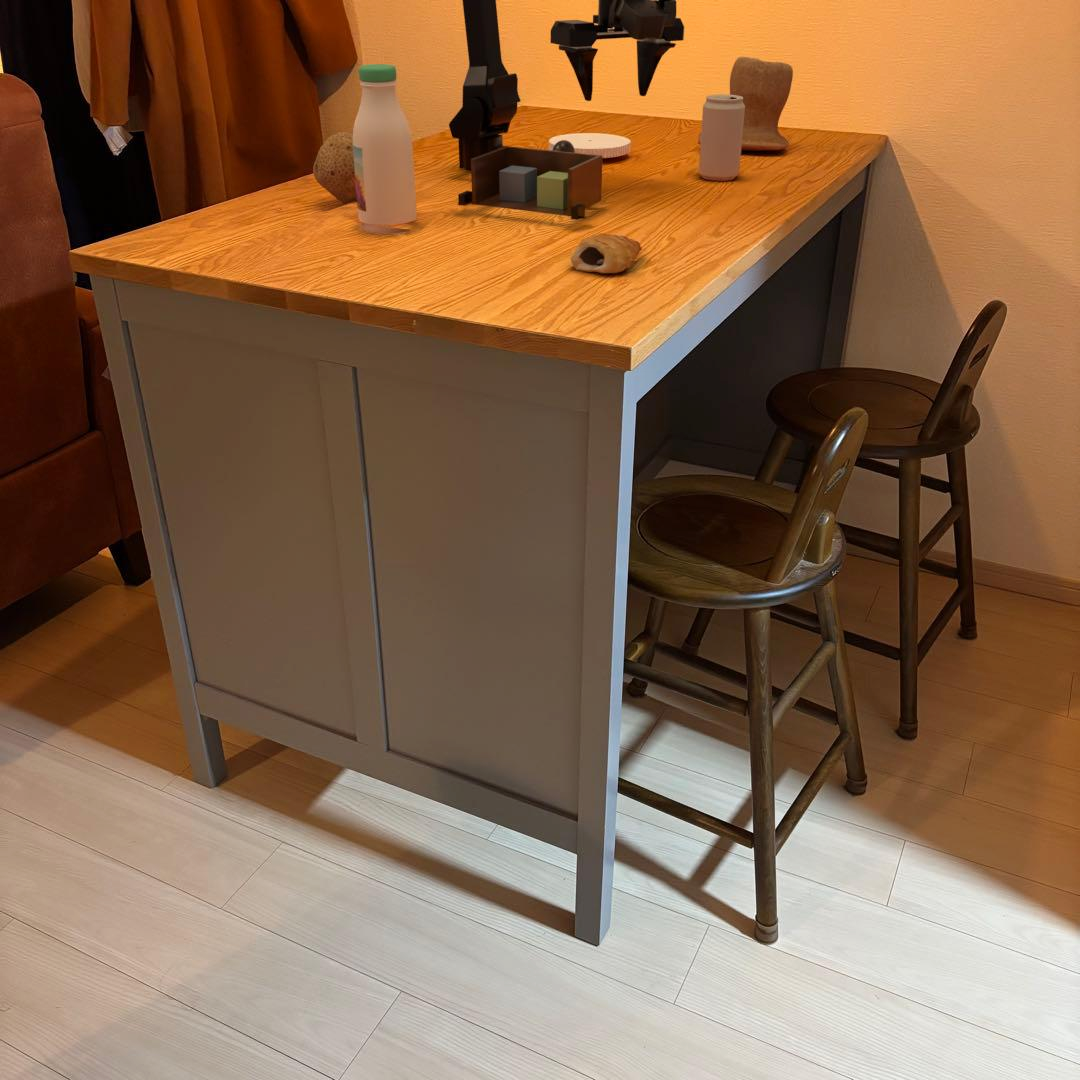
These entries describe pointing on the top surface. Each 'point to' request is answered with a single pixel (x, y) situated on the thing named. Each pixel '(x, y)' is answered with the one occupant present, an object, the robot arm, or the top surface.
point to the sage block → (552, 190)
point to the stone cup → (761, 101)
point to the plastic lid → (595, 144)
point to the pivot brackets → (576, 211)
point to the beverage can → (721, 137)
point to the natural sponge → (337, 167)
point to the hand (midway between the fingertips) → (615, 98)
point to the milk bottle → (382, 154)
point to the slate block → (518, 184)
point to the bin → (562, 159)
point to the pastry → (605, 253)
